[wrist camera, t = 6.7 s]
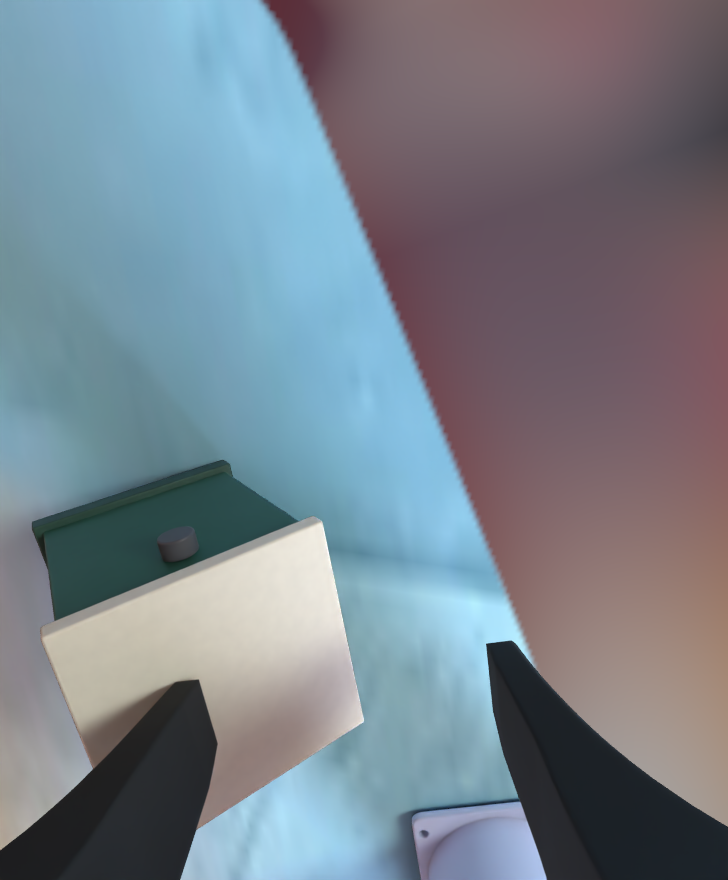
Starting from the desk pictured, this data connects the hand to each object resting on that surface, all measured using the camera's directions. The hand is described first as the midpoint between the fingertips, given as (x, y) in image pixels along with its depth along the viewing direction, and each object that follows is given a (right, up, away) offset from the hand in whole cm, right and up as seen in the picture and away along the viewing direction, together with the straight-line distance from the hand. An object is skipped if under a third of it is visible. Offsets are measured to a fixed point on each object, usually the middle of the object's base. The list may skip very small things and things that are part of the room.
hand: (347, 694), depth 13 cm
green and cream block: (-2, +2, +6) cm, 7 cm away
